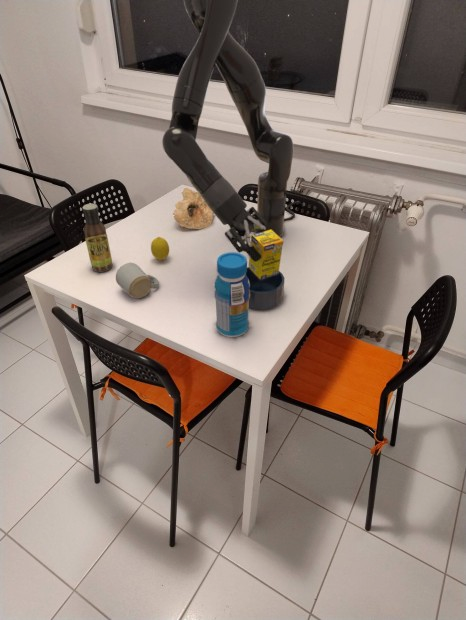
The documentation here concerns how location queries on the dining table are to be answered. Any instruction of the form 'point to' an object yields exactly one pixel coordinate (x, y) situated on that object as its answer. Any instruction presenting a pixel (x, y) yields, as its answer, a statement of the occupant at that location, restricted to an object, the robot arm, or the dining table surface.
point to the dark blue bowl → (265, 291)
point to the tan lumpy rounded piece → (193, 211)
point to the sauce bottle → (96, 239)
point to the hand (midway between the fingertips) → (265, 251)
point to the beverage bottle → (232, 294)
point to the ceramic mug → (135, 280)
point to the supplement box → (266, 254)
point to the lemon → (159, 248)
